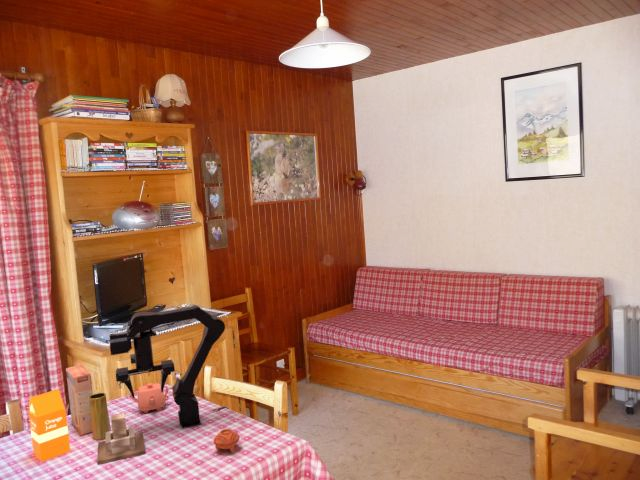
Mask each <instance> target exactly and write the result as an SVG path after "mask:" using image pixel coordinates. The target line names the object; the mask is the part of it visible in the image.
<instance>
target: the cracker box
mask: <svg viewBox="0 0 640 480" xmlns="http://www.w3.org/2000/svg"><path fill="white" fill-rule="evenodd" d="M65 372H66V374H65V375H66V380H67V390H68V399H69V407H70V416H71V417H70V418H71V424H72V426H73V427H74V428H75V430H76V431H77V433H78V435H79V436H84V435H87V434H90V433H91V434H92V433H93V432H92V419H91V410H90V401H89V397H90V396H91V395H93V394H94V393H93V383H92V374H91V373H90V372H89V370H87V369H86V367H84V365H83V364H78V365H77V364H76V365H74V366H70V367H66V368H65Z"/></svg>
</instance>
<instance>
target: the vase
mask: <svg viewBox="0 0 640 480" xmlns="http://www.w3.org/2000/svg"><path fill="white" fill-rule="evenodd" d="M89 401H90V410H91V419H92V432H91V433H92V439H93V440H96V441H99V440H106V432H109V431H112V427H111V422H110V421H111V420H110V416H109V410H108V404H107V403H108V402H107V394H106V393H105V392H97V393H93V395H91V396H90V397H89Z"/></svg>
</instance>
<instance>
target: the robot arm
mask: <svg viewBox="0 0 640 480" xmlns="http://www.w3.org/2000/svg"><path fill="white" fill-rule="evenodd" d="M193 319H194V320H197V321H198V322H200V323H201V324H203V326H204V327H203V331H202V336H201V338H202V339H200V341H199V344H198V347H197V349H196V351H195V352H194V355H193V357H192V359H191V361H190V363H189V365H188V367H187V369H186V372H185V373H184V375H183V377H181V378H179V377H177V378H175V383H174V385H173V386H172V387H171V389H172V393H171V394H172V397H173V400H174V403H175V405H177V406H179V410H177V413H178V423H179V425H180V426H181V428H182V429H185V428H189V427H193V426H198V425H202V422H201V418H200V417H201V416H200V409H199V401H198V399H197V397H196V394H195V393H194V390H195V384H196V381H197V378H198V377H199V374H200V373H201V371H202V368H203V366H204V364H205V362H206V360H207V358H208V356H209V353H210V352H211V350H212V348H213V345H214V344H215V343H216V342H218V340H219V339H220V338H221V337H222V335H223V334H224V332H225V329H226V324H225V322H224V321H223V320H222V318H221V317H220V316H217V315H211V314H210V313H209V312H207V311H206V310H204V309H202V308H201V307H200V306H199V305H196V304H194V305H192V306H187V307H182V308H176V309H170V310H165V311H159V312H154V311H138V312H136V313H134V314H133V315H132V316H131V319H130V325H129V326H128V328H127V329H126V332H121V333H110V334H109V350H110V351H109V352H110V356H117V355H123V354H128V353H130V351H131V350H134V351H133V352H134V353H132V354H129V358H130V364H131V365H133V364H135V368H133V369H129V367H128V366H126V367H120V368H119V367H118V368H116V370H115V379H116V380H115V381H116V382H117V383H118V382H120V384H124V385H125V386H126V387H127V389H128V391H129V392H130V393H131V395H132V396H133V398H134V397H135V394H134V388H133V383H132V380H131V376H135V375H141V374H146V373H152V372H157V371H160V384H161V392H164V389H165V388H164V385H165V384H166V382H167V379H168V377H169V375H172V373H173V372H176V370H175V369H176V368H175V364H174V360H172V359H166V360H162V361H160V364H156V365H155V364H154V354H153V353H154V352H153V347H152V346H153V345H152V337H156V336H157V332H156V331H155V330H154V329H155V328H157V327H158V326H160V325H166V324H170V323H171V324H173V323H176V322H182V321H188V320H193ZM132 343H133V347H132ZM165 386H166V385H165ZM130 393H129V394H130Z"/></svg>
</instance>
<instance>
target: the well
mask: <svg viewBox="0 0 640 480" xmlns="http://www.w3.org/2000/svg"><path fill="white" fill-rule="evenodd" d="M126 430H127V437H122V438H118V439H113V431H112V430H111V431H109V432H106V438H105V440H102V441H98V442H97V457H96V458H97V465H102V464H105V463H111V462H115V461H120V460H125V459H128V458H133V457H137V456H141V455H146V445H145V438H144V433H143V432H140V433H139V432H138V433H136V434H135V428H134V426H129V427H126Z"/></svg>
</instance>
